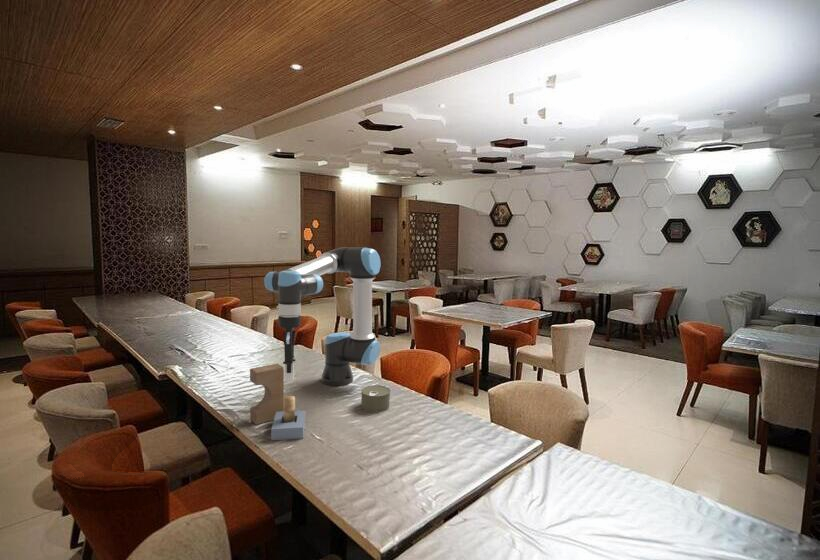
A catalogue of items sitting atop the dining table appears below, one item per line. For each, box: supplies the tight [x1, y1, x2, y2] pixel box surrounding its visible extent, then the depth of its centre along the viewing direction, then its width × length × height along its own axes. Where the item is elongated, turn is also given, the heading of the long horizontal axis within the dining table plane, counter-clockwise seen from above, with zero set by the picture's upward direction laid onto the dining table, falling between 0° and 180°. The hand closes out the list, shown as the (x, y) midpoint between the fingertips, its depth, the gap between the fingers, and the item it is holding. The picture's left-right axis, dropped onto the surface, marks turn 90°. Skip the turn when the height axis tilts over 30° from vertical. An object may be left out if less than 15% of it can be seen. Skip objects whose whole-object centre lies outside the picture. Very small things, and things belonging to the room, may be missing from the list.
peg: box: [283, 395, 296, 423], centre depth 148 cm, size 4×4×12 cm
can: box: [360, 385, 391, 413], centre depth 171 cm, size 12×12×7 cm
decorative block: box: [249, 363, 285, 425], centre depth 156 cm, size 11×6×20 cm, turn 130°
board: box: [270, 409, 306, 441], centre depth 148 cm, size 10×14×4 cm
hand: (289, 380), depth 147 cm, fingers closed
